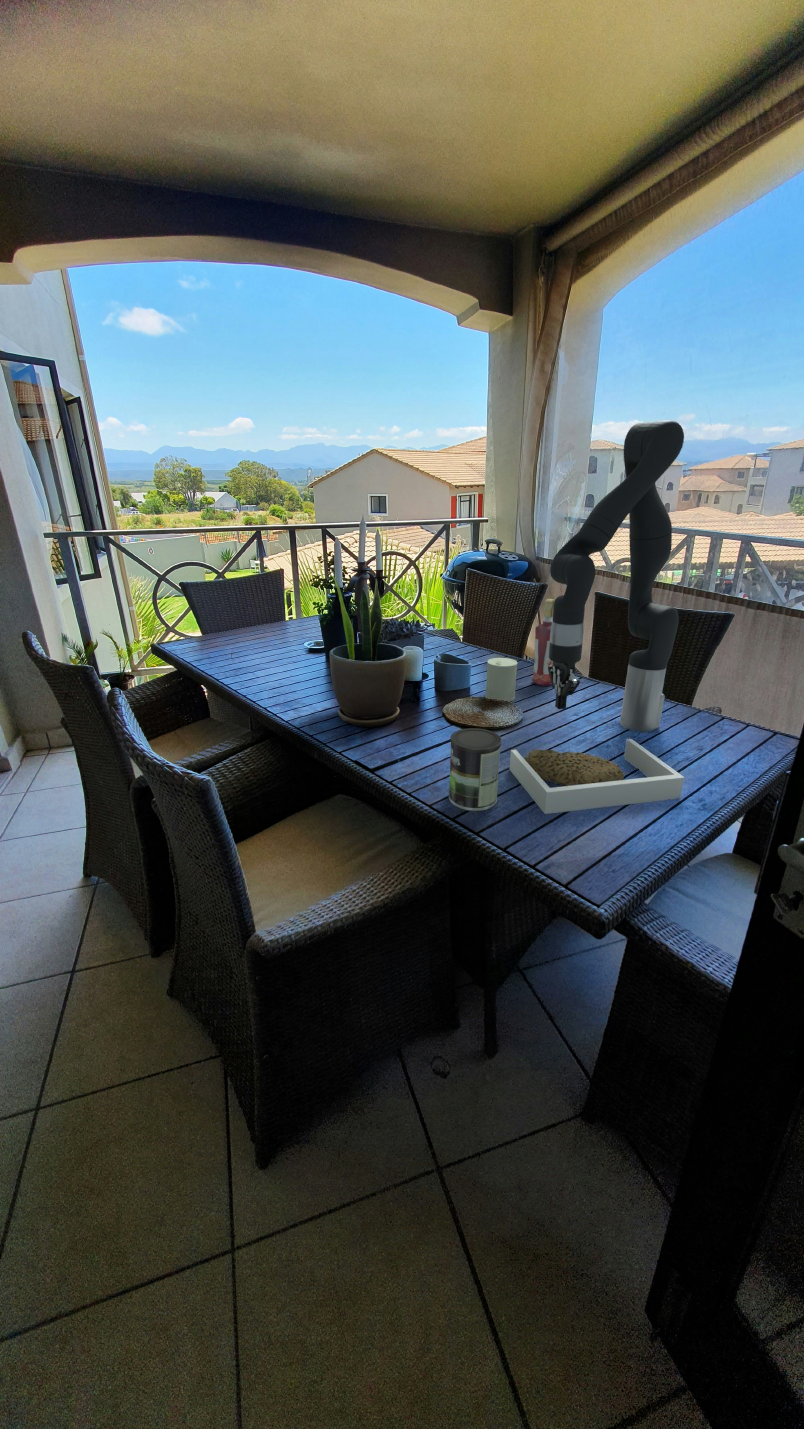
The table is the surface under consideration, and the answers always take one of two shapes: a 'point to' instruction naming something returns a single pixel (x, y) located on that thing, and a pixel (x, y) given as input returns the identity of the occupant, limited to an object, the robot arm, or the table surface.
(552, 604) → the liquor
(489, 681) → the pillar candle
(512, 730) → the table surface
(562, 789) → the box
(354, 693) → the potted plant
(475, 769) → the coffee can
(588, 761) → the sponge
